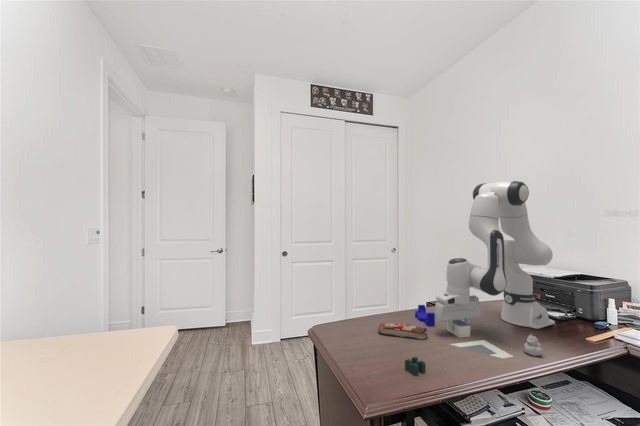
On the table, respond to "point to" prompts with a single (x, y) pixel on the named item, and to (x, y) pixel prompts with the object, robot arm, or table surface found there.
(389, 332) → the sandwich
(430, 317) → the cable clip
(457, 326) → the card deck
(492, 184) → the robot arm
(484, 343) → the mat
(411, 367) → the mount
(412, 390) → the table surface
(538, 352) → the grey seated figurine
